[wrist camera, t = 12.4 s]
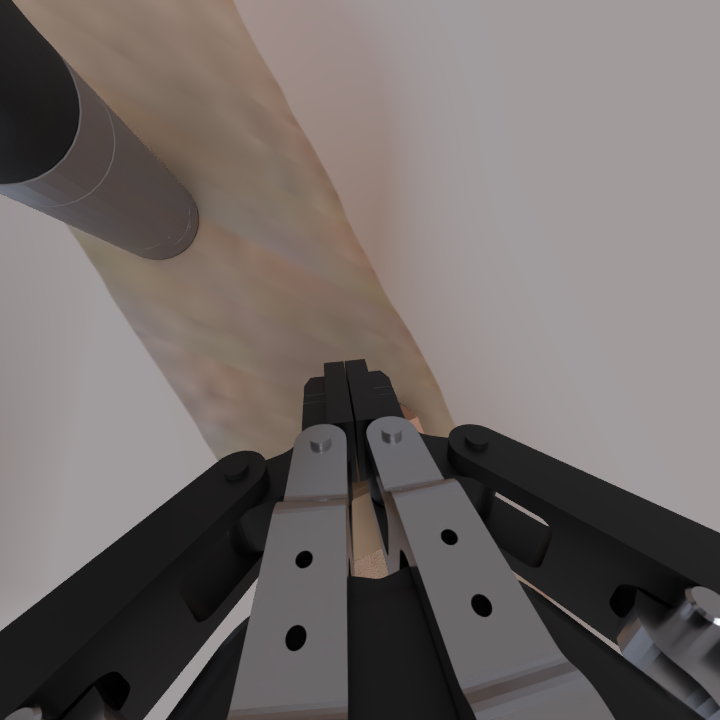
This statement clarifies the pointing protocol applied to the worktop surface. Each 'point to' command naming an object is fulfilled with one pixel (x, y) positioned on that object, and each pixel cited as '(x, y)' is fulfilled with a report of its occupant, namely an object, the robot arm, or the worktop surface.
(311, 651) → the robot arm
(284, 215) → the worktop surface
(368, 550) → the walnut block
